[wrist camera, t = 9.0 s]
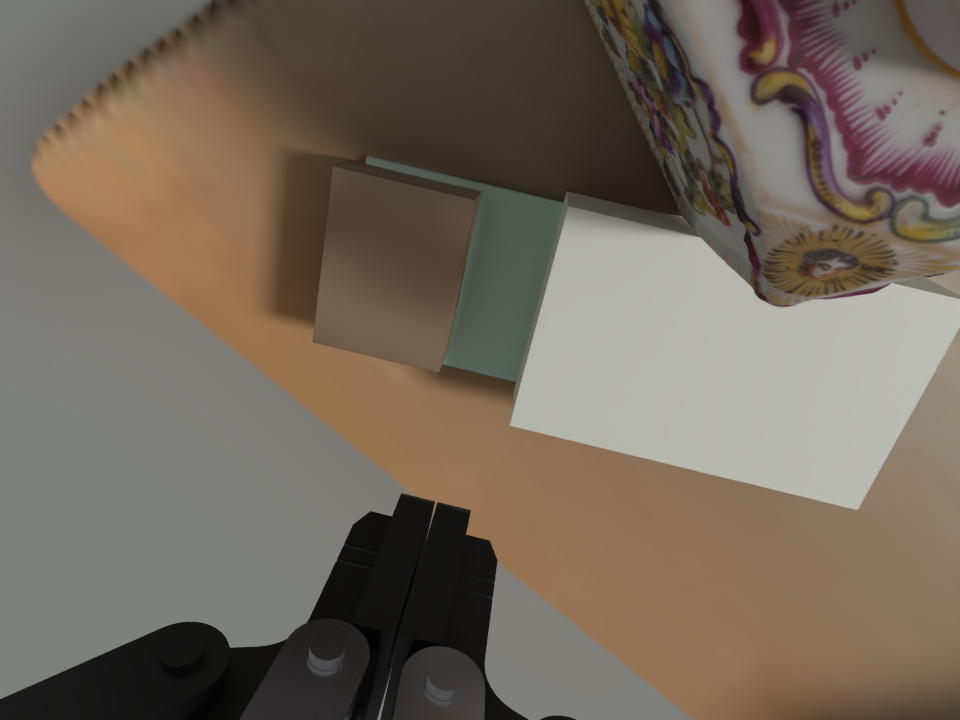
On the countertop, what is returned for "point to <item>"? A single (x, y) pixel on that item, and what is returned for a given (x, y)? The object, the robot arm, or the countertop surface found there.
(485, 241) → the mat
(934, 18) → the decorative jar
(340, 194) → the walnut tile
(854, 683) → the countertop surface
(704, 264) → the block
